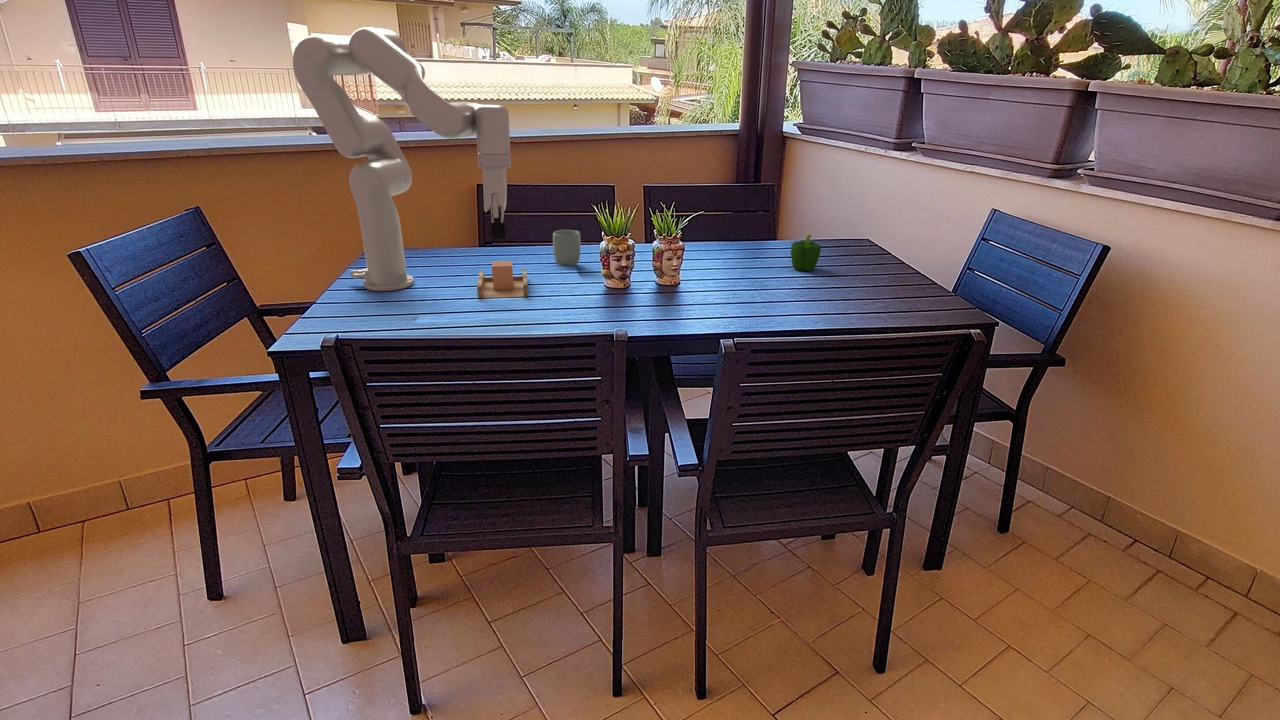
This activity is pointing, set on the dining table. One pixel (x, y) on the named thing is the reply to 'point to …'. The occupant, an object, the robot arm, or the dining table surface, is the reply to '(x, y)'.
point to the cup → (566, 247)
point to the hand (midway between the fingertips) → (498, 238)
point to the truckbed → (487, 289)
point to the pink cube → (502, 275)
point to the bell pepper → (805, 254)
